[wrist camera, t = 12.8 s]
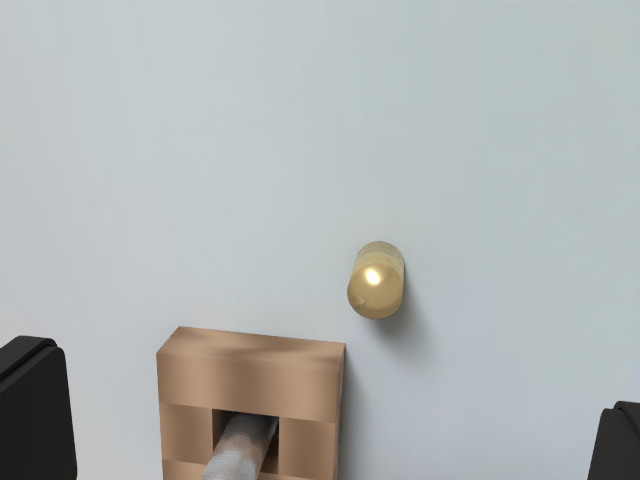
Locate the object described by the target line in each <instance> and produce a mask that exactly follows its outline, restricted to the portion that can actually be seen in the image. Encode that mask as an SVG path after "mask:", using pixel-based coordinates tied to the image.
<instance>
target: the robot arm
mask: <svg viewBox="0 0 640 480" xmlns="http://www.w3.org/2000/svg"><path fill="white" fill-rule="evenodd" d="M76 479H77V461H76V452H75V443H74V434H73V425H72V415H71V406H70V397H69V388H68V378H67V369H66V360H65V354H64V351H63V349H61V348H60V347H57V344H56V342H55V341H54V340H53V339H51V338H42V337H32V336H18V337H16V338H14V339H13V340H12V341H10V342H9V343H7V344H6V345H5V346H3V347H2V348H0V480H76ZM587 480H640V403H635V402H626V401H618V402H616V404H615V406H614V408H613V409H607V408H606V409H604V410H603V412H602V414H601V417H600V422H599V427H598V432H597V436H596V441H595V446H594V451H593V455H592V460H591V465H590V469H589V474H588V479H587Z"/></svg>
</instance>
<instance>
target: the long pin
mask: <svg viewBox="0 0 640 480" xmlns="http://www.w3.org/2000/svg"><path fill="white" fill-rule="evenodd" d="M278 421H279V417H278V416H270V415H262V414H254V413H245V412H237V411H234V413H233V415H232V417H231V419H230V421H229V422H228V424H227V426H226V428H225V430H224V432H223V434H222V436H221V438H220V440H219V442H218V444H217V446H216V448H215V450H214V452H213V454H212V456H211V458H210V460H209V462H208V464H207V466H206V468H205V470H204V472H203V474H202V476H201V478H200V480H257V477H258V475H259V472H260V469H261V467H262V464H263V461H264V458H265V456H266V453H267V450H268V448H269V445H270V442H271V440H272V437H273V434H274V432H275V429H276V426H277V424H278Z"/></svg>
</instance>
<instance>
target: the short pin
mask: <svg viewBox="0 0 640 480" xmlns="http://www.w3.org/2000/svg"><path fill="white" fill-rule="evenodd" d="M403 279H404V260H403V257H402V254H401V253H400V251H399V250H398V249H397V248H396V247H395V246H393V245H391V244H389V243H386V242H381V241H377V242H372V243H369V244H367V245H365V246H364V247H363V248H362V249H361V250H360V251H359V253H358V254H357V257H356V260H355V264H354V267H353V271H352V275H351V278H350V282H349V285H348V290H347V295H348V300H349V303H350V305H351V306H352V308H353V309H354V310H355V311H356V312H357V313H358V314H360V315H362V316H364V317H366V318H369V319H382V318H386V317H388V316H390V315H392V314H393V313H394V312H396V310H397V309H398V308H399V306H400V304H401V302H402V298H403Z"/></svg>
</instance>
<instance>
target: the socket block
mask: <svg viewBox="0 0 640 480" xmlns="http://www.w3.org/2000/svg"><path fill="white" fill-rule="evenodd" d="M344 350H345V344H344V343H334V342H325V341H315V340H305V339H296V338H286V337H276V336H267V335H257V334H247V333H238V332H228V331H218V330H209V329H199V328H189V327H180V326H179V327H178V328H177V329H176V331H175V332H174V333H173V334H172V335H171V336H170V338H169V339H168V340H167V341H166V342H165V343H164V345H163V346H162V347H161V348H160V349H159V350H158V352H157V353H156V357H157V375H158V394H159V412H160V430H161V448H162V466H163V480H200V478H201V476H202V474H203V472H204V470H205V468H206V466H207V464H208V462H209V460H210V458H211V456H212V454H213V452H214V450H215V448H216V446H217V444H218V442H219V440H220V438H221V436H222V434H223V432H224V430H225V428H226V426H227V424H228V422H229V421H230V411H237V412H245V413H254V414H262V415H270V416H278V417H279V437H274V436H273V437H272V440H271V442H270V445H269V448H268V450H267V453H266V456H265V458H264V461H263V464H262V467H261V469H260V472H259V475H258V477H257V480H337V479H338V461H339V443H340V424H341V406H342V387H343V369H344Z"/></svg>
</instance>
